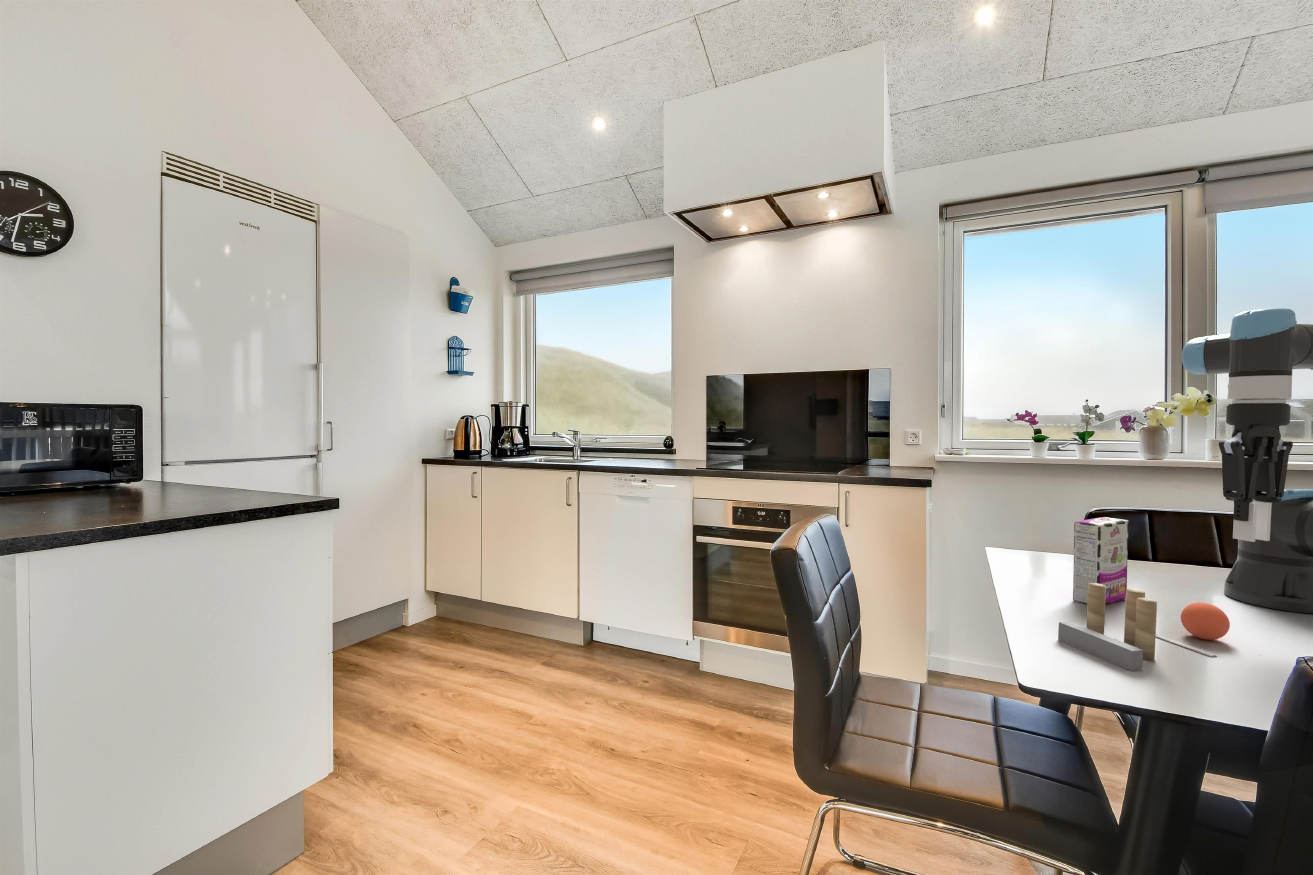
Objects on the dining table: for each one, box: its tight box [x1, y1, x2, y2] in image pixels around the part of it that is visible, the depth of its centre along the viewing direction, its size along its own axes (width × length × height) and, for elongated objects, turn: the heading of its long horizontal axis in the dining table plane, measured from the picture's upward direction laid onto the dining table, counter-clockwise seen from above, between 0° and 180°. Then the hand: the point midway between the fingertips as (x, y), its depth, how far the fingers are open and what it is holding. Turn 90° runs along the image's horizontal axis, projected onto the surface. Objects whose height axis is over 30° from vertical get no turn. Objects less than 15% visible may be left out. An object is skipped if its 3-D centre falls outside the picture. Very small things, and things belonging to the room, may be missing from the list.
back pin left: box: [1135, 597, 1158, 662], centre depth 89 cm, size 2×2×9 cm
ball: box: [1180, 602, 1231, 641], centre depth 97 cm, size 6×6×6 cm
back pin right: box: [1085, 583, 1106, 635], centre depth 97 cm, size 2×2×9 cm
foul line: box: [1156, 633, 1217, 658], centre depth 96 cm, size 1×12×1 cm, turn 13°
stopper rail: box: [1057, 620, 1144, 672], centre depth 90 cm, size 2×12×3 cm, turn 12°
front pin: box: [1123, 588, 1146, 647], centre depth 94 cm, size 2×2×9 cm
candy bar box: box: [1072, 516, 1129, 606], centre depth 117 cm, size 11×5×16 cm, turn 117°
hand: (1251, 539), depth 98 cm, fingers open, 3 cm apart
